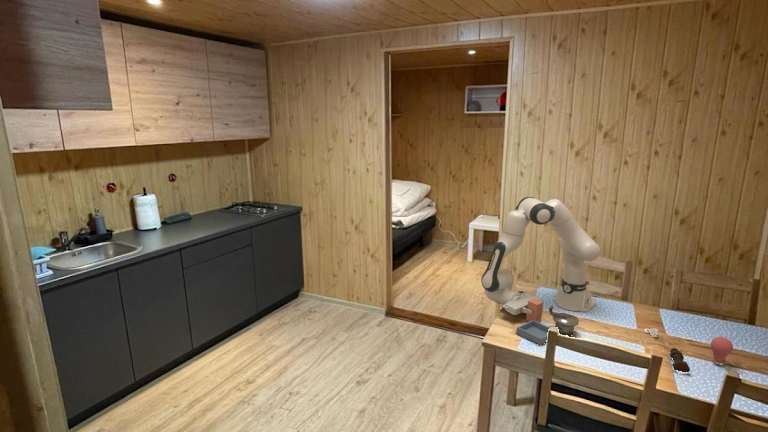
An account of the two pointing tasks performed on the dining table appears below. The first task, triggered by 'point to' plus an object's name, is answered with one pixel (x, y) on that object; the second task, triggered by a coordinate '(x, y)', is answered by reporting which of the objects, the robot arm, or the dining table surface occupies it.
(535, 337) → the tray
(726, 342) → the light bulb
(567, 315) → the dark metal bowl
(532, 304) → the block
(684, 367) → the brown shoe
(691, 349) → the dining table surface
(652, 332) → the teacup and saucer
